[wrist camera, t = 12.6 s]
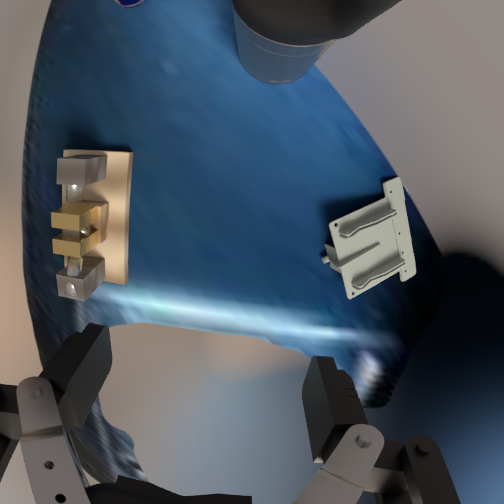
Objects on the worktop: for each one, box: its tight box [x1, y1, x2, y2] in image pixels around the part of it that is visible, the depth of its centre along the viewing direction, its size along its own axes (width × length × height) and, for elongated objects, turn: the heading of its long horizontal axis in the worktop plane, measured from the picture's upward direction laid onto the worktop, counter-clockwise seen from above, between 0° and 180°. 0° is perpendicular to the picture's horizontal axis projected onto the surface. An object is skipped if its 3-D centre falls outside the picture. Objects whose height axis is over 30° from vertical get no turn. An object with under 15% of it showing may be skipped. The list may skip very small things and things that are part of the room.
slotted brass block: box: [51, 203, 98, 258], centre depth 34 cm, size 5×4×5 cm
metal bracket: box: [322, 177, 416, 299], centre depth 41 cm, size 14×6×15 cm
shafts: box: [65, 157, 83, 299], centre depth 33 cm, size 17×2×4 cm, turn 172°
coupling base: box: [56, 149, 133, 301], centre depth 36 cm, size 18×10×8 cm, turn 172°
